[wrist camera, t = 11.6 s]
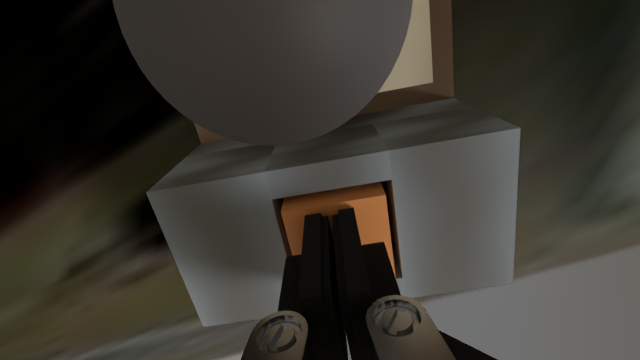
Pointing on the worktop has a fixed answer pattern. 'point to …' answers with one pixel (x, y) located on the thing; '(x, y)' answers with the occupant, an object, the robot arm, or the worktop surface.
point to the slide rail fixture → (344, 171)
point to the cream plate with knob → (277, 60)
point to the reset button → (361, 197)
